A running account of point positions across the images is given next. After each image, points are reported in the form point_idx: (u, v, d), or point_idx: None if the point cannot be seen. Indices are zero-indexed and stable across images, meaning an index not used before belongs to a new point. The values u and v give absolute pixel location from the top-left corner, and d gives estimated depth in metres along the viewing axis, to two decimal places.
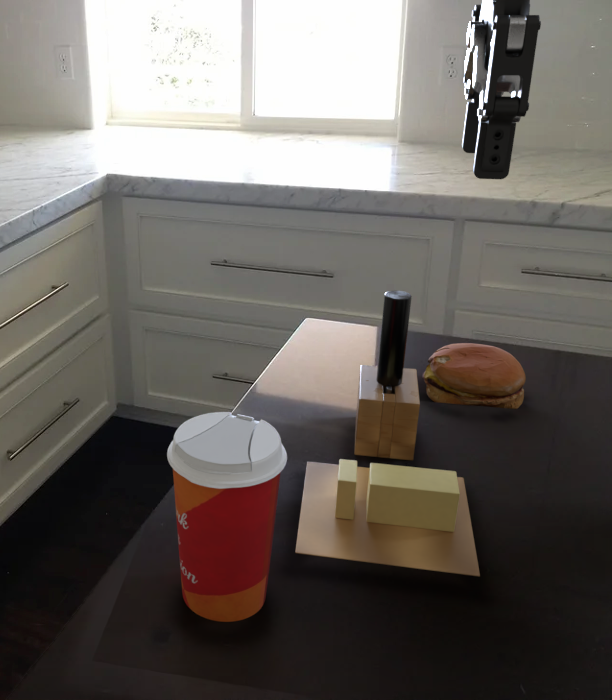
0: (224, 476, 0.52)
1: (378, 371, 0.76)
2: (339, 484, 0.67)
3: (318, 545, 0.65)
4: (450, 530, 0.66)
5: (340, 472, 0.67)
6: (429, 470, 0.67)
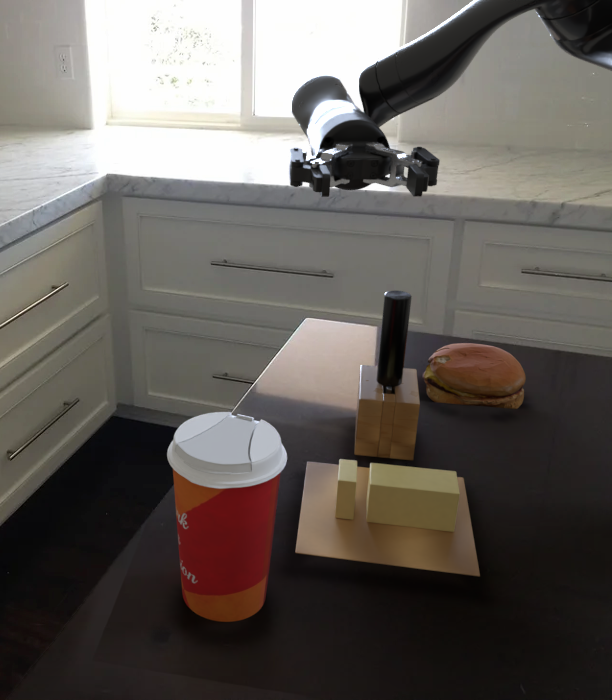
0: (224, 476, 0.52)
1: (378, 371, 0.76)
2: (339, 484, 0.67)
3: (318, 545, 0.65)
4: (450, 530, 0.66)
5: (340, 472, 0.67)
6: (429, 470, 0.67)
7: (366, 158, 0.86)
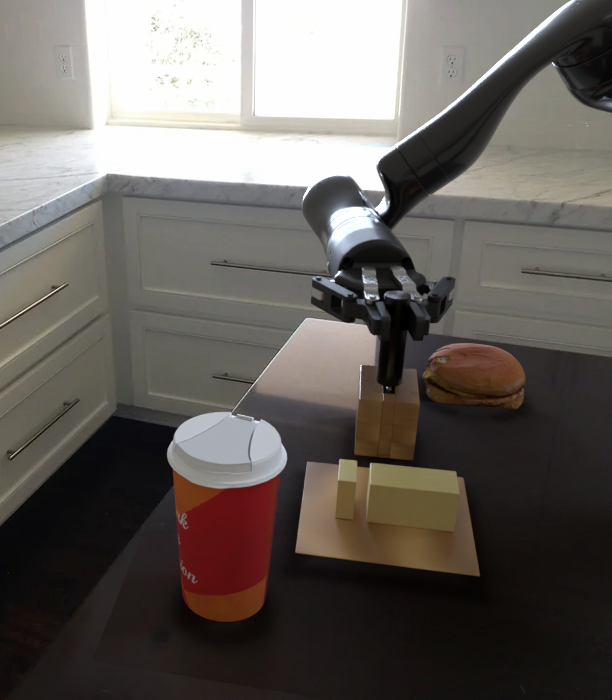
0: (224, 476, 0.52)
1: (377, 371, 0.76)
2: (339, 484, 0.67)
3: (318, 545, 0.65)
4: (450, 530, 0.66)
5: (340, 472, 0.67)
6: (429, 470, 0.67)
7: (391, 286, 0.78)
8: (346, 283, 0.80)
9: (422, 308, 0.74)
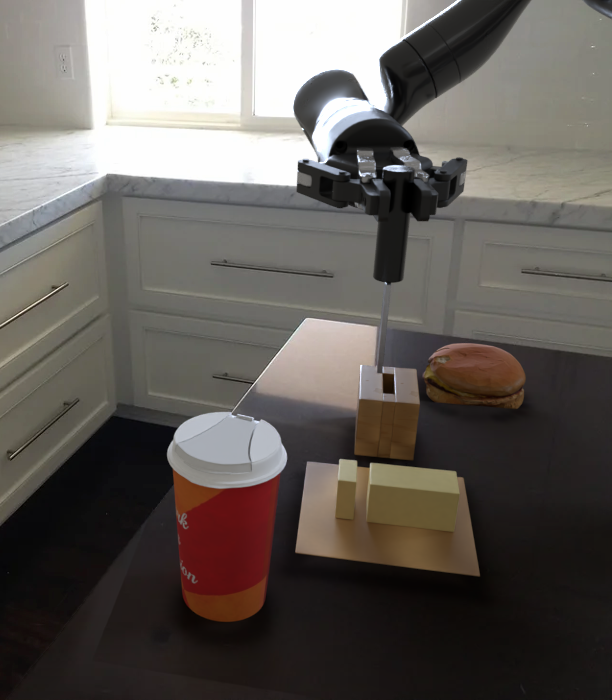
0: (224, 476, 0.52)
1: (374, 265, 0.64)
2: (339, 484, 0.67)
3: (318, 545, 0.65)
4: (450, 530, 0.66)
5: (340, 472, 0.67)
6: (429, 470, 0.67)
7: None
8: (338, 166, 0.67)
9: (428, 186, 0.62)
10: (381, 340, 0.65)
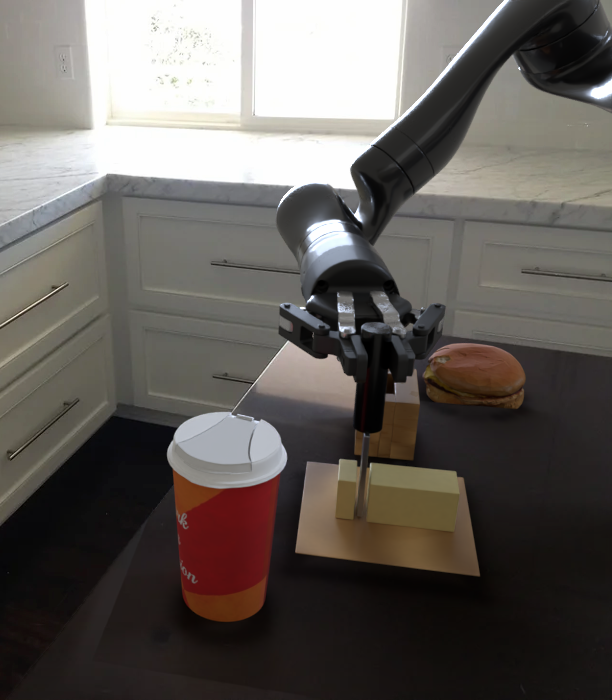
0: (224, 476, 0.52)
1: (354, 415, 0.65)
2: (339, 484, 0.67)
3: (318, 545, 0.65)
4: (450, 530, 0.66)
5: (340, 472, 0.67)
6: (429, 470, 0.67)
7: (370, 315, 0.67)
8: (318, 311, 0.69)
9: (406, 343, 0.63)
10: (360, 486, 0.66)
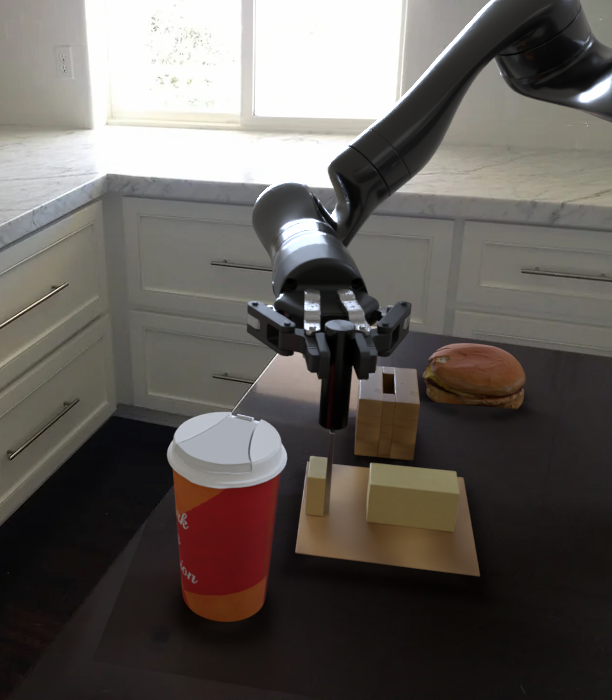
0: (224, 476, 0.52)
1: (319, 412, 0.66)
2: (309, 481, 0.67)
3: (318, 545, 0.65)
4: (450, 530, 0.66)
5: (310, 469, 0.68)
6: (429, 470, 0.67)
7: (336, 313, 0.68)
8: (286, 308, 0.69)
9: (369, 340, 0.63)
10: (327, 483, 0.67)
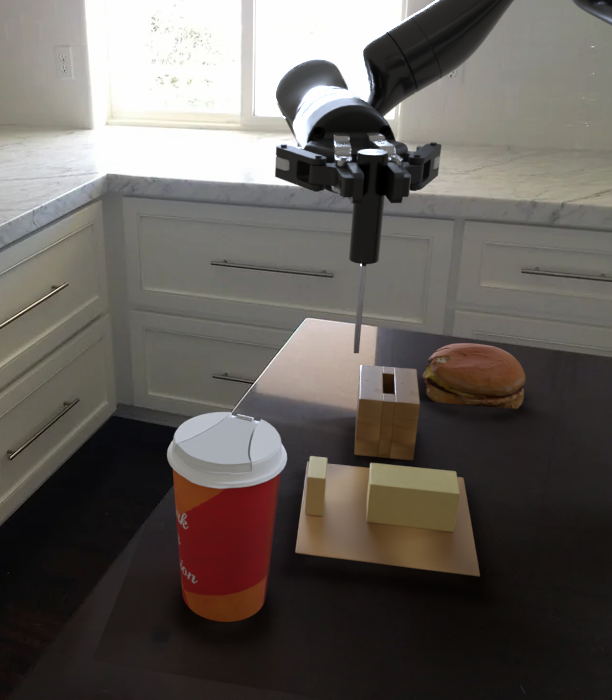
0: (224, 476, 0.52)
1: (350, 247, 0.66)
2: (308, 481, 0.67)
3: (318, 545, 0.65)
4: (450, 530, 0.66)
5: (310, 469, 0.68)
6: (429, 470, 0.67)
7: None
8: (315, 151, 0.69)
9: (402, 169, 0.63)
10: (357, 320, 0.67)
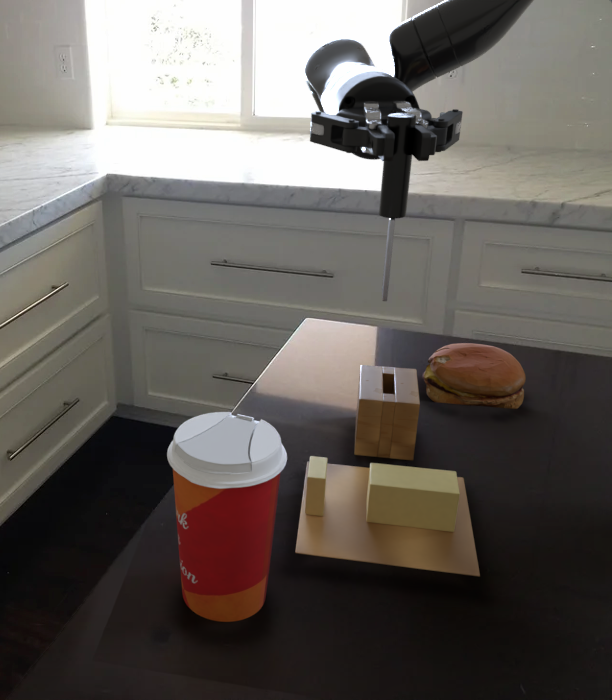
0: (224, 476, 0.52)
1: (380, 203, 0.72)
2: (308, 481, 0.67)
3: (318, 545, 0.65)
4: (450, 530, 0.66)
5: (310, 469, 0.68)
6: (429, 470, 0.67)
7: None
8: (347, 118, 0.76)
9: (428, 131, 0.70)
10: (386, 270, 0.73)
